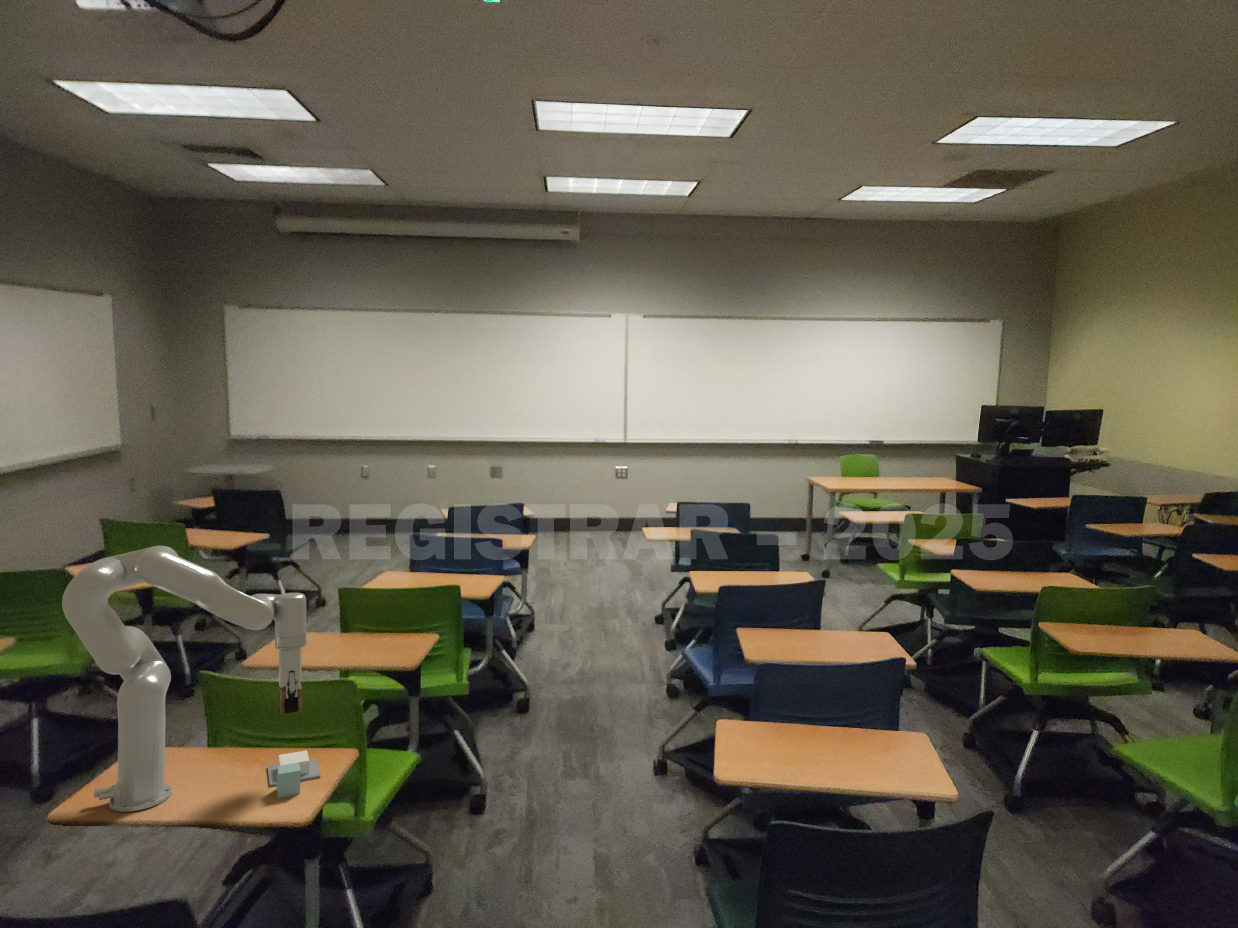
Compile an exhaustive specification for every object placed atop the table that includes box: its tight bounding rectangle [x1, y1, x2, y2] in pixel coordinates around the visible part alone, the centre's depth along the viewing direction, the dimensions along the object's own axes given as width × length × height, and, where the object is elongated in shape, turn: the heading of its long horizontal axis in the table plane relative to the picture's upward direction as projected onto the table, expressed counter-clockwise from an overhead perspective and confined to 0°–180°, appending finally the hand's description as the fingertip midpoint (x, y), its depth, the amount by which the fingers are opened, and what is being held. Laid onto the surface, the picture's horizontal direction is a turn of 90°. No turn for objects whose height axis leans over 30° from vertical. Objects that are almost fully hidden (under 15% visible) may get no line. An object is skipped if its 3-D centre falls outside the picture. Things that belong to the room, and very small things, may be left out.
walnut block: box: [279, 682, 303, 715], centre depth 184 cm, size 5×5×6 cm
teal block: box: [276, 762, 301, 799], centre depth 176 cm, size 5×5×6 cm
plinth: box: [267, 750, 321, 788], centre depth 186 cm, size 12×12×4 cm
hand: (290, 707), depth 184 cm, fingers closed on walnut block, 4 cm apart
